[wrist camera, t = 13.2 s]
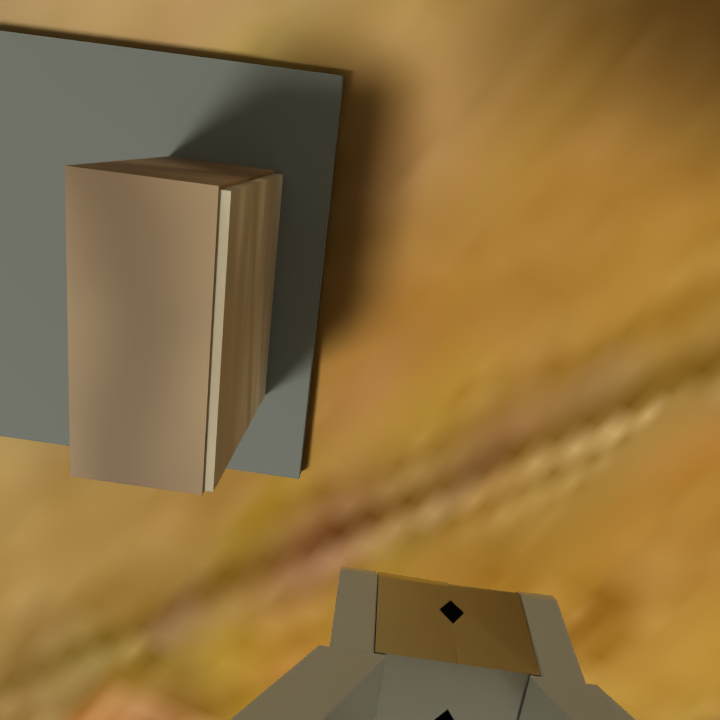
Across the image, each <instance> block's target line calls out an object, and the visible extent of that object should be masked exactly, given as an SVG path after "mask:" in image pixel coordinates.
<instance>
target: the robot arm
mask: <svg viewBox="0 0 720 720" xmlns="http://www.w3.org/2000/svg"><path fill="white" fill-rule="evenodd" d="M231 720H635V719H634V718H633V717H632V716H631V715H629V714H628V713H627V712H626V711H625V710H624V709H623V708H622V707H621V706H619V705H618V704H617V703H616V702H615V701H614V700H613V699H612V698H611V697H609V696H608V695H607V694H606V693H605V692H604V691H603V690H602V689H601V688H599V687H598V686H597V685H593V684H586V683H585V680H584V677H583V674H582V671H581V668H580V665H579V662H578V660H577V657H576V654H575V651H574V648H573V645H572V642H571V640H570V637H569V634H568V631H567V628H566V625H565V622H564V619H563V617H562V614H561V611H560V608H559V605H558V602H557V600H556V599H555V598H554V597H553V596H550V595H541V594H532V593H523V592H516V593H514V592H506V591H498V590H491V589H483V588H475V587H468V586H460V585H453V584H447V583H444V582H438V581H432V580H426V579H420V578H413V577H407V576H401V575H395V574H389V573H383V572H378V573H376V571H370V570H363V569H356V568H349V567H342V568H341V571H340V576H339V584H338V591H337V598H336V605H335V613H334V620H333V627H332V635H331V642H330V647H327V646H318V647H317V648H316V649H314V650H313V651H312V652H311V653H310V654H308V655H307V656H306V657H305V658H304V659H302V660H301V661H300V662H299V663H298V664H296V665H295V666H294V667H293V668H292V669H290V670H289V671H288V672H287V673H286V674H284V675H283V676H282V677H281V678H280V679H278V680H277V681H276V682H275V683H274V684H272V685H271V686H270V687H269V688H268V689H266V690H265V691H264V692H263V693H262V694H260V695H259V696H258V697H257V698H256V699H254V700H253V701H252V702H251V703H250V704H248V705H247V706H246V707H245V708H244V709H243V710H241V711H240V712H239V713H238V714H237V715H235V716H234V717H233V718H232V719H231Z"/></svg>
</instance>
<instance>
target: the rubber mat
mask: <svg viewBox="0 0 720 720" xmlns="http://www.w3.org/2000/svg"><path fill="white" fill-rule="evenodd" d="M343 83H344V76H343V75H335V74H327V73H320V72H312V71H304V70H297V69H289V68H282V67H274V66H266V65H259V64H251V63H243V62H236V61H228V60H221V59H213V58H205V57H198V56H190V55H182V54H175V53H167V52H160V51H152V50H144V49H137V48H129V47H121V46H114V45H106V44H99V43H91V42H83V41H76V40H68V39H60V38H53V37H45V36H37V35H30V34H22V33H15V32H7V31H0V436H5V437H12V438H19V439H26V440H33V441H39V442H46V443H53V444H60V445H67V446H70V430H69V375H68V320H67V265H66V209H65V165H76V164H88V163H99V162H110V161H121V160H132V159H143V158H154V157H165V156H171V157H179V158H186V159H194V160H201V161H209V162H217V163H224V164H232V165H239V166H247V167H254V168H262V169H270V170H276V173H277V174H283V185H282V197H281V209H280V221H279V233H278V245H277V257H276V269H275V281H274V293H273V305H272V317H271V329H270V341H269V353H268V365H267V377H266V389H265V397H264V399H263V400H262V402H261V404H260V406H259V408H258V410H257V411H256V413H255V415H254V417H253V419H252V421H251V423H250V424H249V426H248V428H247V430H246V432H245V434H244V436H243V437H242V439H241V441H240V443H239V445H238V447H237V449H236V450H235V452H234V454H233V456H232V458H231V460H230V461H229V463H228V465H227V467H226V468H227V469H234V470H241V471H248V472H255V473H262V474H268V475H275V476H282V477H289V478H296V479H299V477H300V474H301V468H302V459H303V450H304V441H305V432H306V422H307V413H308V404H309V395H310V386H311V376H312V367H313V358H314V349H315V340H316V331H317V321H318V312H319V303H320V294H321V285H322V275H323V266H324V257H325V248H326V239H327V230H328V220H329V211H330V202H331V193H332V184H333V175H334V165H335V156H336V147H337V138H338V129H339V119H340V110H341V101H342V92H343Z"/></svg>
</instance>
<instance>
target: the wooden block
mask: <svg viewBox="0 0 720 720" xmlns="http://www.w3.org/2000/svg"><path fill="white" fill-rule="evenodd" d="M282 185H283V174H277V173H276V170H270V169H262V168H254V167H247V166H239V165H232V164H224V163H217V162H209V161H201V160H194V159H186V158H179V157H171V156H165V157H154V158H143V159H132V160H121V161H110V162H99V163H88V164H76V165H65V209H66V265H67V320H68V375H69V430H70V476H73V477H80V478H87V479H94V480H101V481H108V482H115V483H122V484H129V485H136V486H143V487H150V488H157V489H164V490H171V491H178V492H185V493H192V494H199V495H202V494H203V493H204V491H212V492H213V491H214V489H215V487H216V486H217V484H218V482H219V480H220V478H221V476H222V474H223V473H224V471H225V469H226V467H227V465H228V463H229V461H230V460H231V458H232V456H233V454H234V452H235V450H236V449H237V447H238V445H239V443H240V441H241V439H242V437H243V436H244V434H245V432H246V430H247V428H248V426H249V424H250V423H251V421H252V419H253V417H254V415H255V413H256V411H257V410H258V408H259V406H260V404H261V402H262V400H263V399H264V397H265V389H266V377H267V365H268V353H269V341H270V329H271V317H272V305H273V293H274V281H275V269H276V257H277V245H278V233H279V221H280V209H281V197H282Z"/></svg>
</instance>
